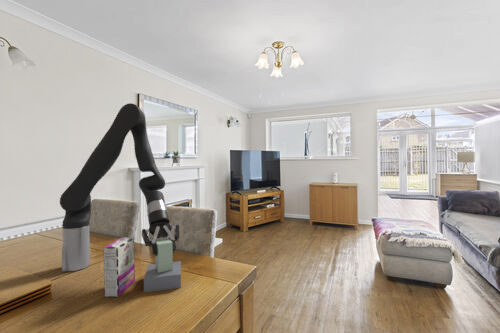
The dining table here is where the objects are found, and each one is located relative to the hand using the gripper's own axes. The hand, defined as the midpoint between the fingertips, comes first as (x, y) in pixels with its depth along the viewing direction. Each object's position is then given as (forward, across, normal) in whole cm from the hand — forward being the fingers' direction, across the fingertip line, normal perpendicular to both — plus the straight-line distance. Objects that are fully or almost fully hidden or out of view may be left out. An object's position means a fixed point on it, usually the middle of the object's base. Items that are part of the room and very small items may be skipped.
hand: (165, 252), depth 88 cm
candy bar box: (+5, -14, +11) cm, 19 cm away
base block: (+7, 0, +9) cm, 12 cm away
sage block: (+3, 0, +6) cm, 7 cm away
